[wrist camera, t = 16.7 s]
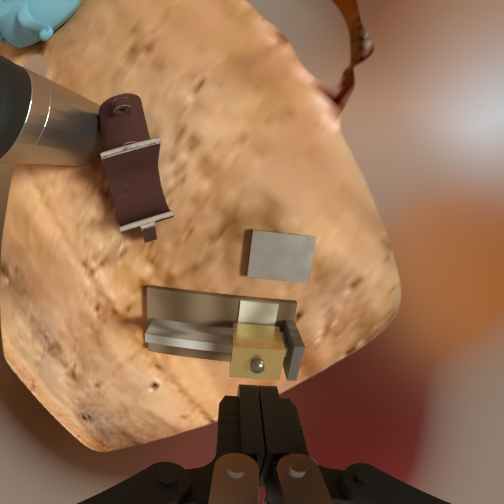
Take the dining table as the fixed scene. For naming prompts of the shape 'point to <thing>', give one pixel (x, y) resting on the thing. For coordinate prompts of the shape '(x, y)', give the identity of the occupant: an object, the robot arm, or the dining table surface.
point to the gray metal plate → (280, 256)
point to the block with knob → (256, 351)
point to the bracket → (132, 165)
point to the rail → (216, 324)
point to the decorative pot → (33, 19)
